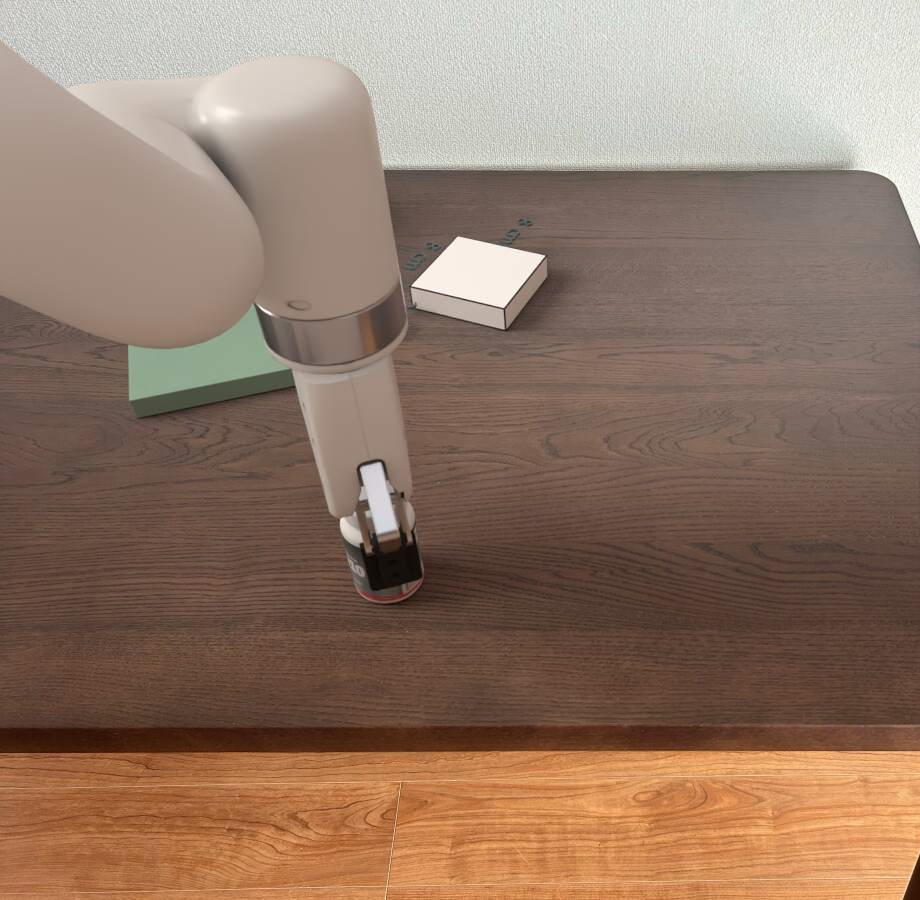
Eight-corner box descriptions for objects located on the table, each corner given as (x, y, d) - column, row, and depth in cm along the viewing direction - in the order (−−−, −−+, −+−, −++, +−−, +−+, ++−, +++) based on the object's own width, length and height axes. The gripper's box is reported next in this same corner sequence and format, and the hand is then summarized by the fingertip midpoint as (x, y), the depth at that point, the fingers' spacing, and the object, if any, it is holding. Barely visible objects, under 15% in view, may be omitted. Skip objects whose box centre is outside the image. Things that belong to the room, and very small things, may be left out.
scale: (126, 420, 77) (111, 387, 75) (125, 318, 88) (112, 285, 85) (337, 377, 82) (330, 344, 79) (313, 284, 92) (306, 252, 89)
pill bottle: (349, 562, 67) (326, 476, 61) (416, 544, 68) (400, 459, 63) (361, 614, 64) (339, 529, 58) (432, 594, 65) (417, 509, 59)
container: (479, 365, 83) (476, 340, 81) (363, 335, 86) (358, 310, 84) (569, 249, 97) (568, 226, 95) (466, 227, 100) (464, 204, 98)
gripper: (243, 238, 56) (305, 452, 68) (278, 428, 44) (345, 648, 56) (373, 216, 58) (411, 428, 69) (440, 392, 46) (471, 612, 58)
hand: (381, 526), depth 63 cm, fingers open, 9 cm apart
